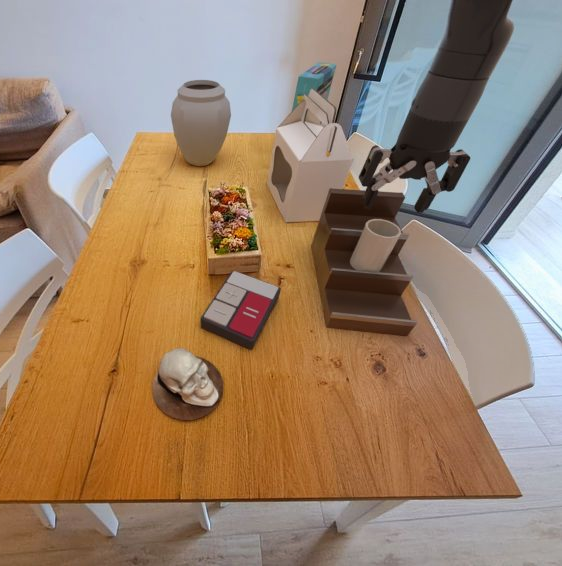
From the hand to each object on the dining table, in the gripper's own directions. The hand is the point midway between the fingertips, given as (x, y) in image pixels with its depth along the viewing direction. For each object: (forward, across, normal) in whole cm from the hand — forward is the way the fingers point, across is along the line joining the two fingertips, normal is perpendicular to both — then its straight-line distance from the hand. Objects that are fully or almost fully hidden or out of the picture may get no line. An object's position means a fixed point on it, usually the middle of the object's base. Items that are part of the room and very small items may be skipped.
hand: (392, 208), depth 59 cm
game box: (+20, -6, +68) cm, 71 cm away
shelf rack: (+20, 0, +1) cm, 20 cm away
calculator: (+20, -24, -11) cm, 33 cm away
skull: (+20, -33, -28) cm, 48 cm away
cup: (+13, 0, 0) cm, 13 cm away
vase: (+20, -41, +58) cm, 74 cm away
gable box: (+20, -9, +35) cm, 42 cm away
